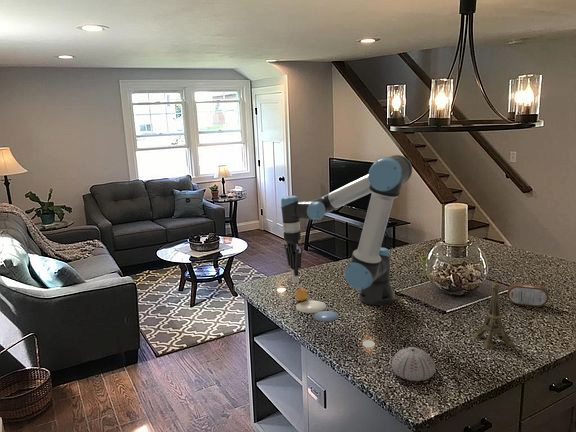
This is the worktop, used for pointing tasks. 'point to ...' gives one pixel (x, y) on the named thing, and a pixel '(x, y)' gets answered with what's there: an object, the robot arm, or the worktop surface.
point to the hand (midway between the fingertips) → (295, 282)
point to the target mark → (310, 306)
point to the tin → (528, 295)
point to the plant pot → (424, 263)
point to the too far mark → (326, 316)
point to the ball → (301, 294)
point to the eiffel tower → (493, 322)
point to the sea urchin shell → (413, 364)
